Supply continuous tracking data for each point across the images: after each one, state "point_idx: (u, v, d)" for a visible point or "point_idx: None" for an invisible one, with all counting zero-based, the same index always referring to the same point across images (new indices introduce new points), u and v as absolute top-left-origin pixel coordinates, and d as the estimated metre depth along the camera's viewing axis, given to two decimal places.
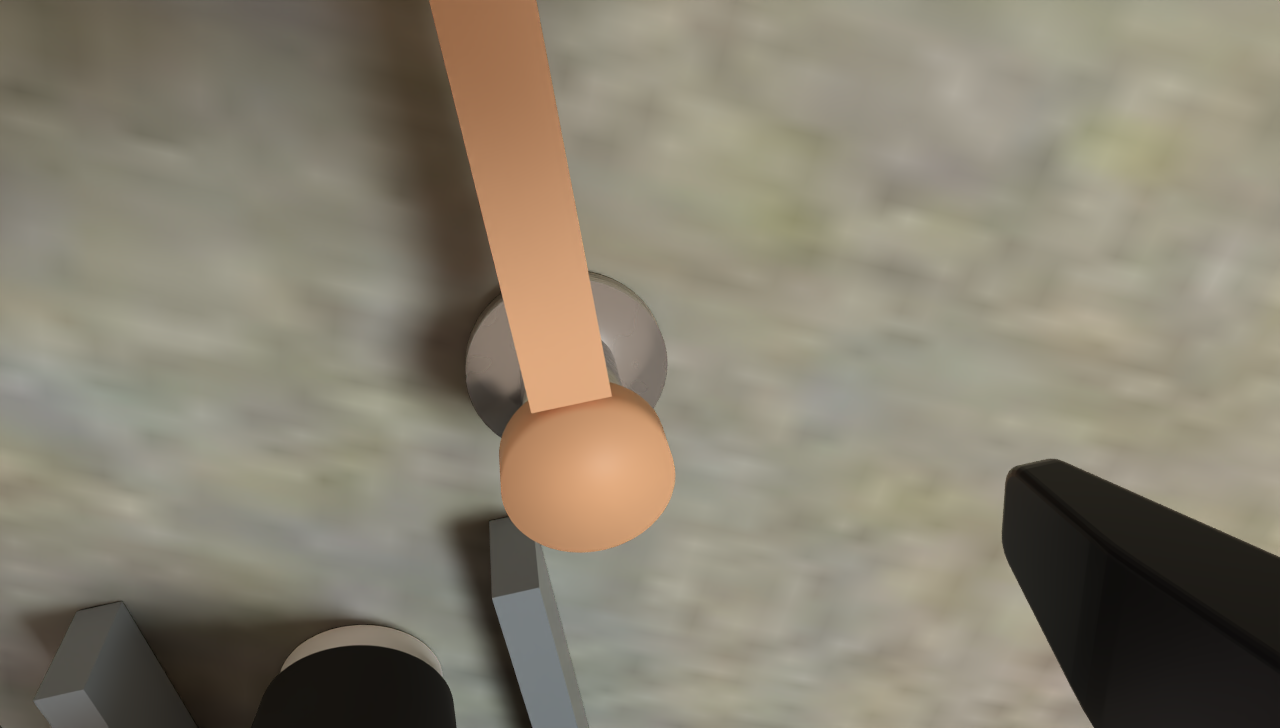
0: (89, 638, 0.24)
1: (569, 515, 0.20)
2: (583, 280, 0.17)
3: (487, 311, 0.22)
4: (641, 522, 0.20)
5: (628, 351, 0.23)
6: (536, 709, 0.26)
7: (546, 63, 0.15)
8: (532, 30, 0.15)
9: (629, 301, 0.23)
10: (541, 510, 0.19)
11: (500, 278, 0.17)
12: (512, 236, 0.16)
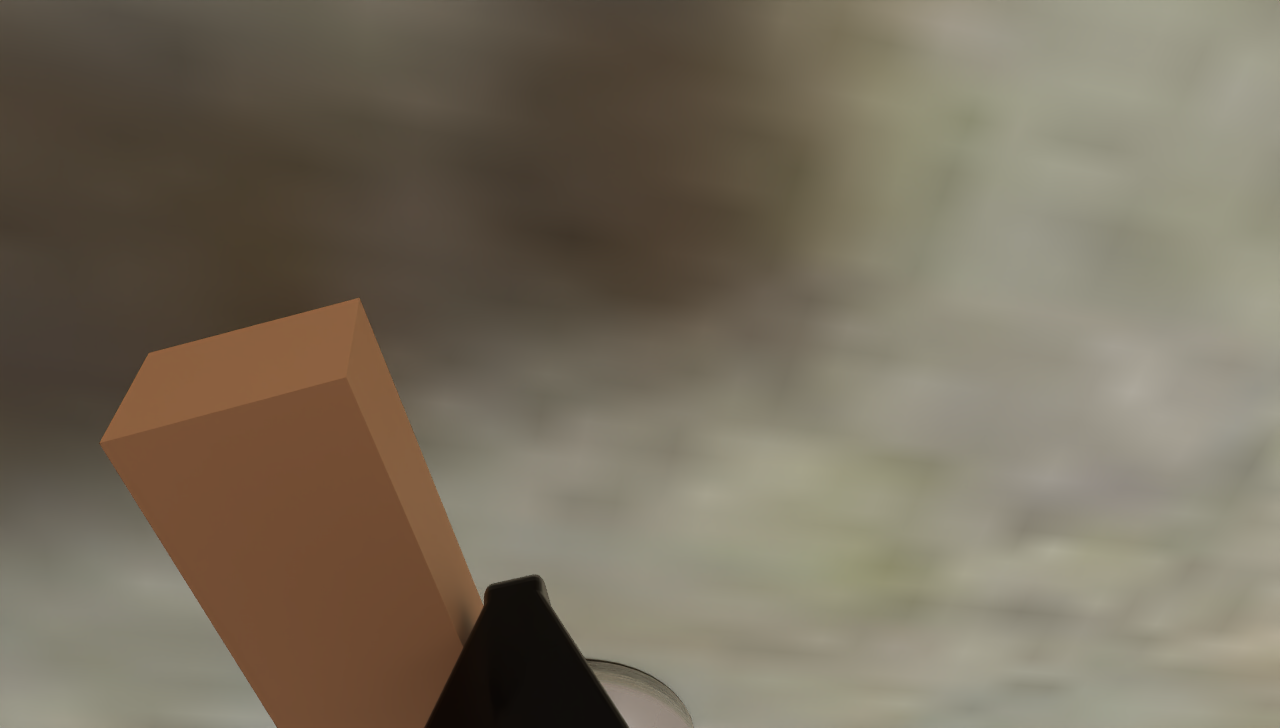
0: None
1: None
2: None
3: None
4: None
5: None
6: None
7: (458, 647, 0.07)
8: (423, 601, 0.07)
9: (646, 706, 0.15)
10: None
11: None
12: None
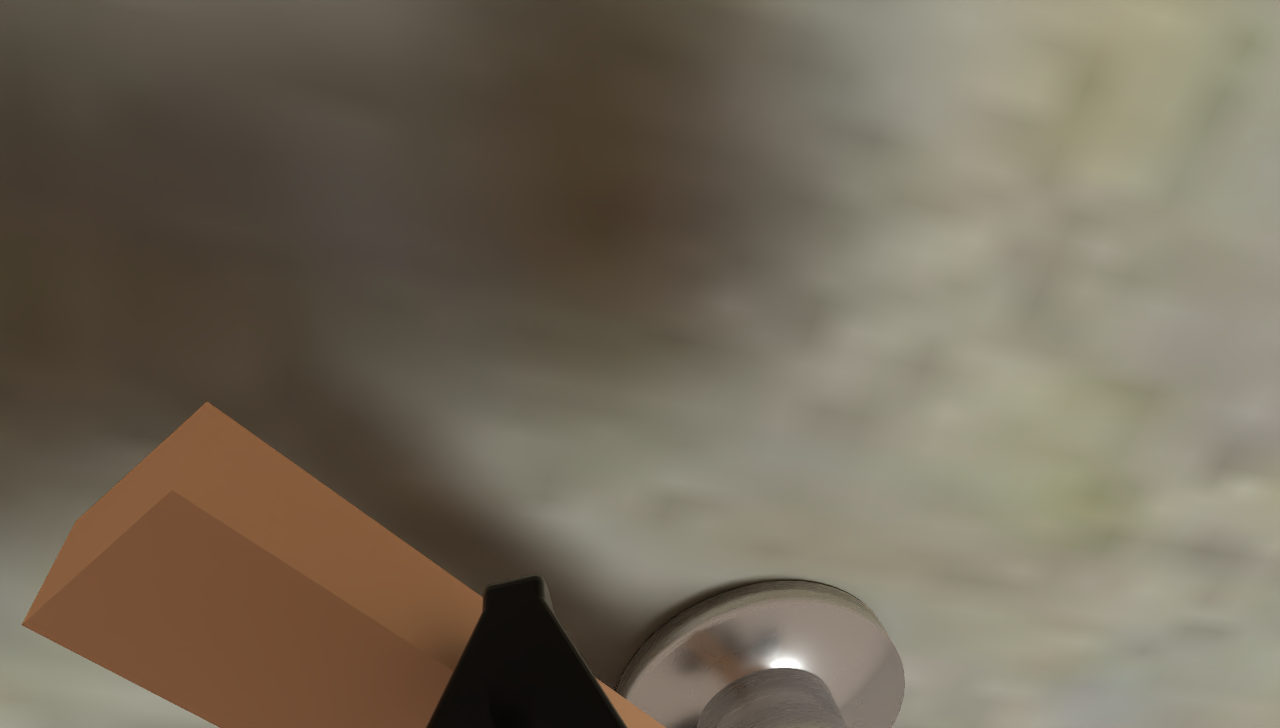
0: None
1: None
2: None
3: (657, 646, 0.15)
4: None
5: (853, 687, 0.16)
6: None
7: (438, 666, 0.08)
8: (378, 642, 0.07)
9: (865, 626, 0.15)
10: None
11: None
12: None
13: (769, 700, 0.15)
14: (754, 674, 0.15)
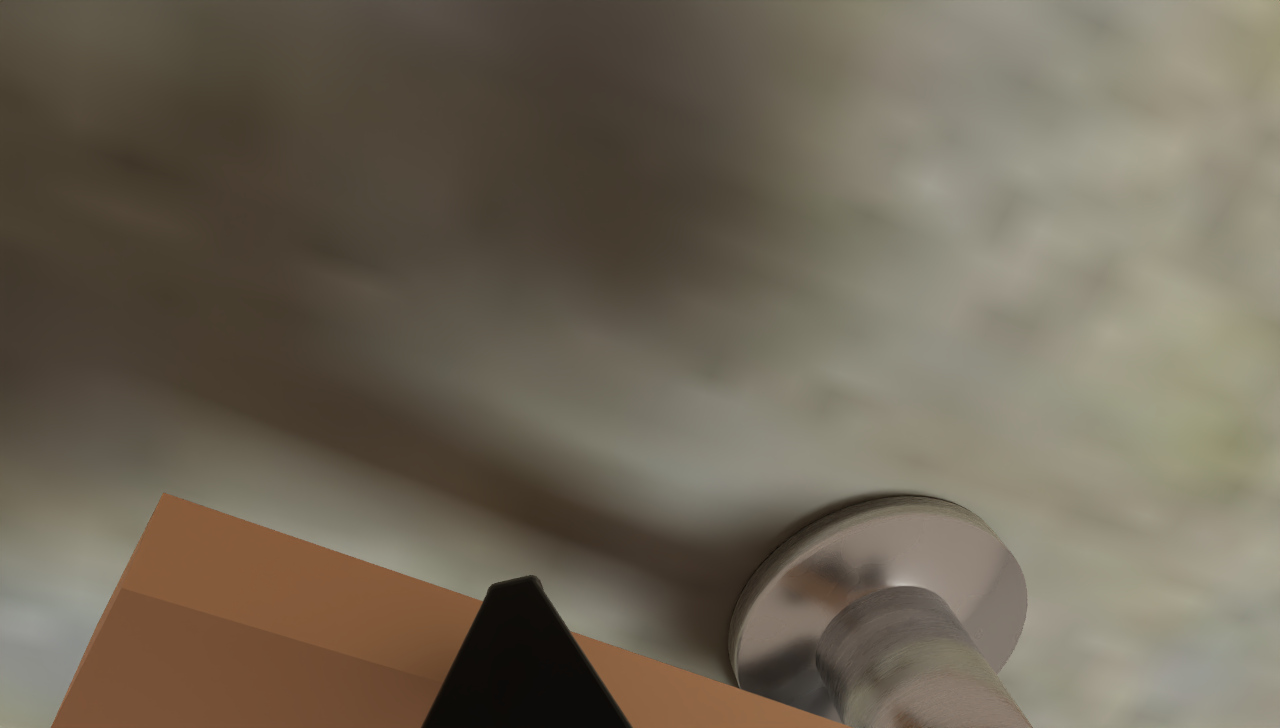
0: None
1: None
2: None
3: (792, 551, 0.15)
4: None
5: (975, 617, 0.16)
6: None
7: (438, 686, 0.08)
8: (371, 677, 0.08)
9: (1001, 550, 0.15)
10: None
11: None
12: None
13: (905, 614, 0.14)
14: (886, 590, 0.15)
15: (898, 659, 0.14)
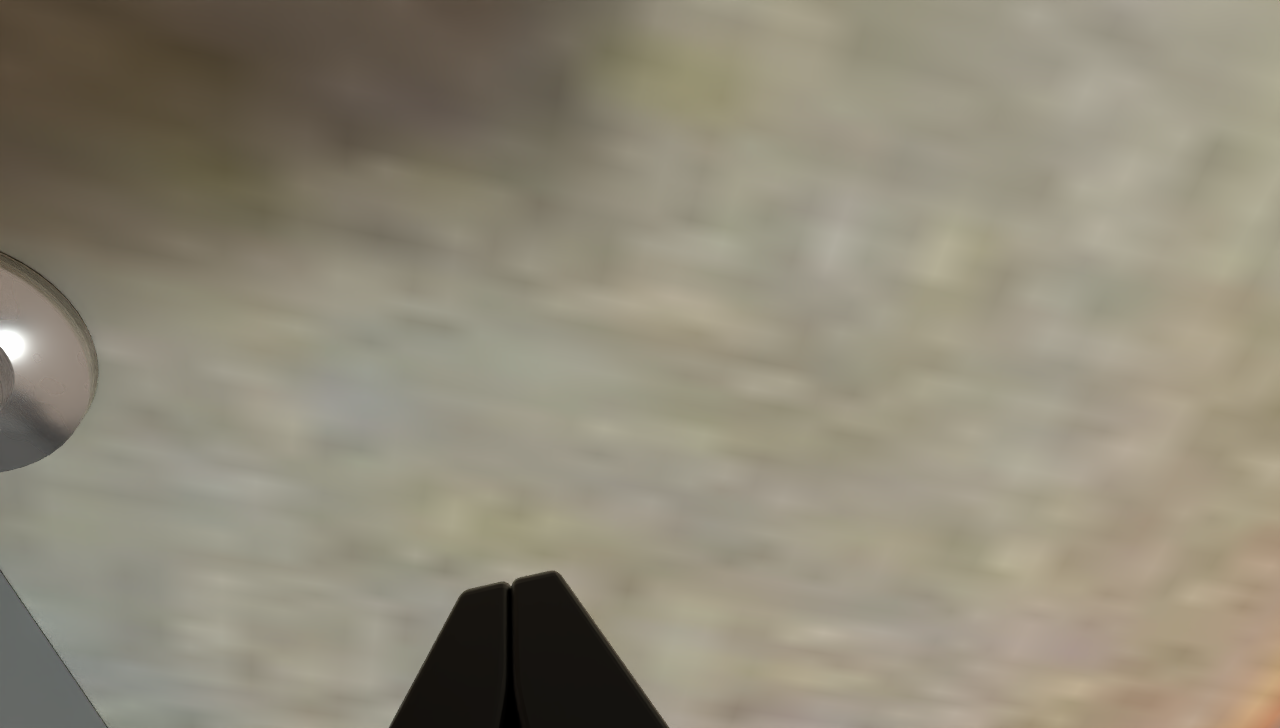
0: None
1: None
2: None
3: None
4: None
5: (21, 340, 0.18)
6: None
7: None
8: None
9: None
10: None
11: None
12: None
13: None
14: None
15: None
